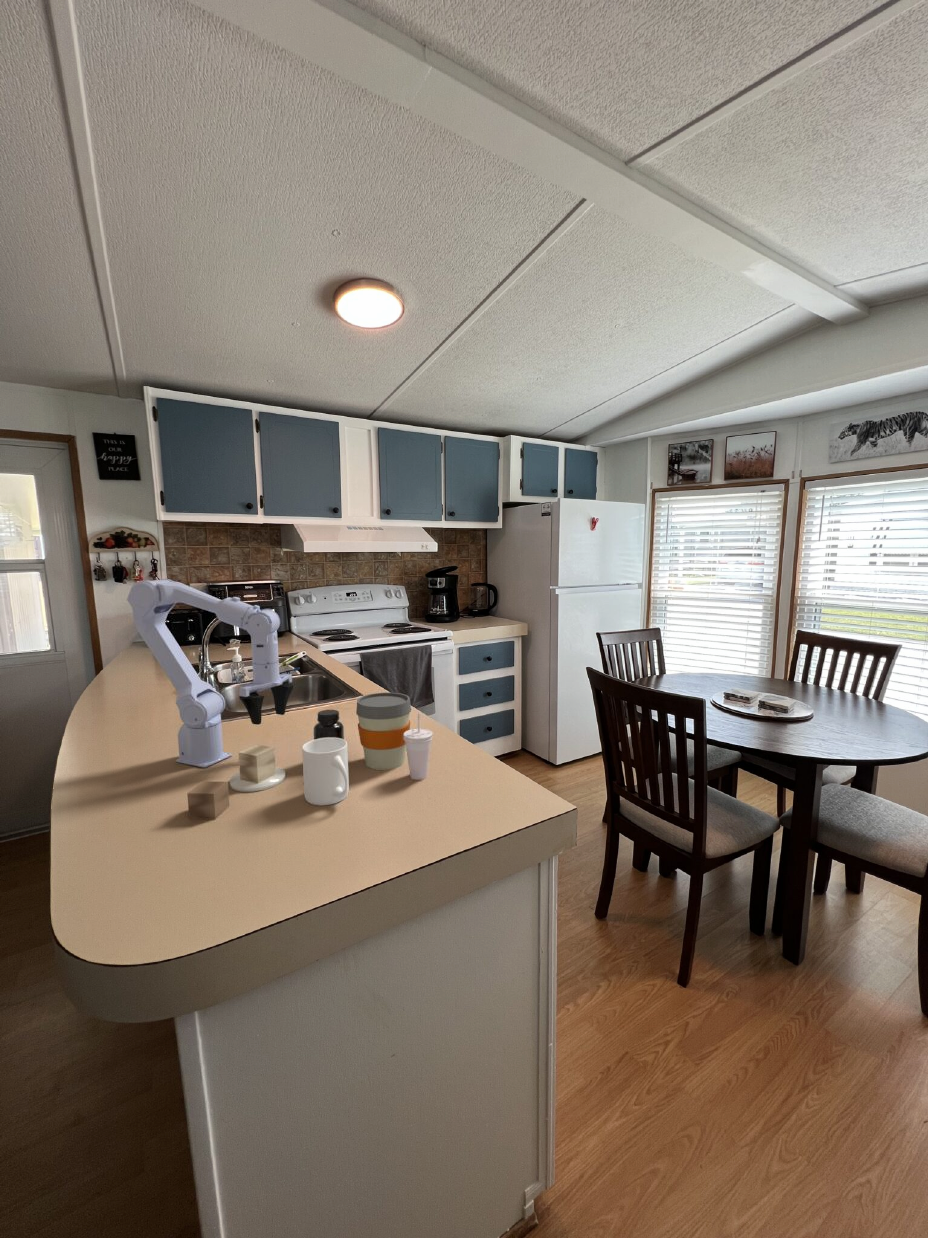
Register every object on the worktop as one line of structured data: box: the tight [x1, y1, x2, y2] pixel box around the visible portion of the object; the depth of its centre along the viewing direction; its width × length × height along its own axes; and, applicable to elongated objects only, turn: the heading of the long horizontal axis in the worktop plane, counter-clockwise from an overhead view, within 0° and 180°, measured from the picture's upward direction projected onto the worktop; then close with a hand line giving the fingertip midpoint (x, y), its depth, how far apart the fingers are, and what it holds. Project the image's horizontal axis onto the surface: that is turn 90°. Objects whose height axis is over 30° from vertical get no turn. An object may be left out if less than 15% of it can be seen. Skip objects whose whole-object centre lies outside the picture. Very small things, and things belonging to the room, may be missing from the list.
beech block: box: [238, 744, 276, 783], centre depth 109 cm, size 5×5×6 cm
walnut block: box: [186, 780, 230, 820], centre depth 96 cm, size 5×5×5 cm
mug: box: [301, 738, 350, 807], centre depth 100 cm, size 9×12×11 cm
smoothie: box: [403, 712, 434, 781], centre depth 111 cm, size 6×6×14 cm
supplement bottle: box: [313, 709, 345, 740], centre depth 119 cm, size 7×7×12 cm
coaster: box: [229, 766, 286, 793], centre depth 110 cm, size 11×11×1 cm
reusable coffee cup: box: [356, 692, 412, 771], centre depth 118 cm, size 13×13×15 cm
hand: (268, 718), depth 120 cm, fingers open, 7 cm apart
